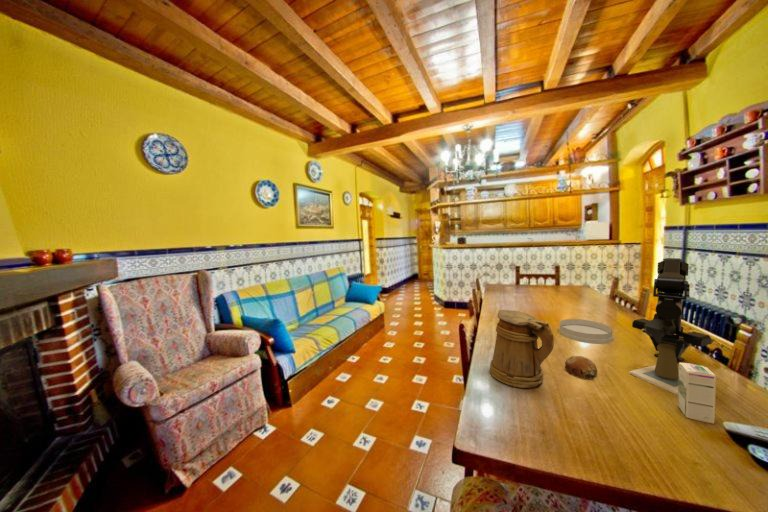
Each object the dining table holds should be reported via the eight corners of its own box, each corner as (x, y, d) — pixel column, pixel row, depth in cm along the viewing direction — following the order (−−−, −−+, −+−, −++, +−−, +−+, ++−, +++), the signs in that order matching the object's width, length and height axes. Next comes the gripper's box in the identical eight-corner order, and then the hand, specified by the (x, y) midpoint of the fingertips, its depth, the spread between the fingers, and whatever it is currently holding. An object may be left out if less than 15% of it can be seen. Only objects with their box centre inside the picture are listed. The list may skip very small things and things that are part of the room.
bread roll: (594, 379, 102) (591, 357, 104) (602, 381, 93) (599, 358, 95) (564, 374, 106) (562, 354, 108) (569, 376, 97) (567, 354, 100)
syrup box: (715, 424, 72) (718, 375, 71) (684, 417, 75) (686, 370, 74) (704, 412, 77) (707, 365, 75) (676, 406, 80) (678, 361, 79)
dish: (625, 343, 123) (626, 333, 122) (579, 345, 123) (579, 335, 123) (589, 326, 145) (589, 317, 144) (549, 328, 145) (549, 320, 145)
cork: (684, 379, 89) (686, 349, 88) (663, 378, 90) (664, 348, 89) (669, 370, 95) (670, 341, 94) (649, 369, 96) (650, 341, 95)
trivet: (655, 367, 101) (655, 364, 101) (707, 387, 88) (707, 384, 88) (629, 373, 98) (629, 371, 98) (679, 395, 84) (679, 392, 84)
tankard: (506, 359, 114) (505, 304, 112) (566, 383, 94) (567, 317, 92) (480, 372, 104) (479, 313, 102) (541, 403, 85) (540, 330, 82)
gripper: (621, 307, 98) (620, 347, 99) (690, 323, 80) (688, 371, 81) (643, 304, 100) (642, 342, 102) (714, 318, 82) (711, 365, 84)
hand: (667, 354), depth 92 cm, fingers closed on cork, 5 cm apart
